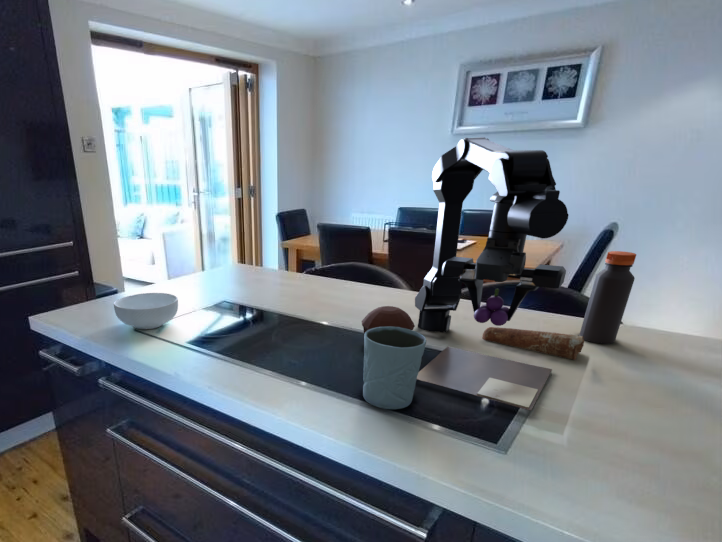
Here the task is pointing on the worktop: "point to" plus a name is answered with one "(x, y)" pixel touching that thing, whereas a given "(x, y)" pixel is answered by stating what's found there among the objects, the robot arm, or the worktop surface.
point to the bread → (537, 341)
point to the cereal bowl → (146, 309)
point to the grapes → (492, 311)
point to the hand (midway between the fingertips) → (491, 317)
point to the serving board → (486, 377)
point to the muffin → (387, 318)
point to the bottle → (608, 298)
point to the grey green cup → (391, 366)
